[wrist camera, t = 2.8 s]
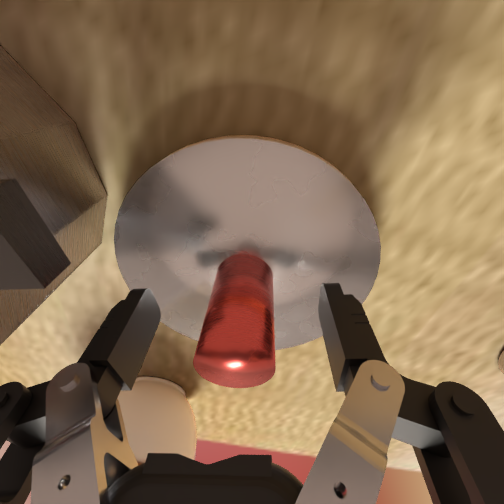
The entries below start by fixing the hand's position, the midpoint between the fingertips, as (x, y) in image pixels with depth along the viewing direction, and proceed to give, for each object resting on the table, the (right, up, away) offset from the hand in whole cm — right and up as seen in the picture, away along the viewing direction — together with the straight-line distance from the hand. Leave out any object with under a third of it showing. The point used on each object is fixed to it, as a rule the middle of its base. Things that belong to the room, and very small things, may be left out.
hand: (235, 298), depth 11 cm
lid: (+1, +2, +3) cm, 3 cm away
